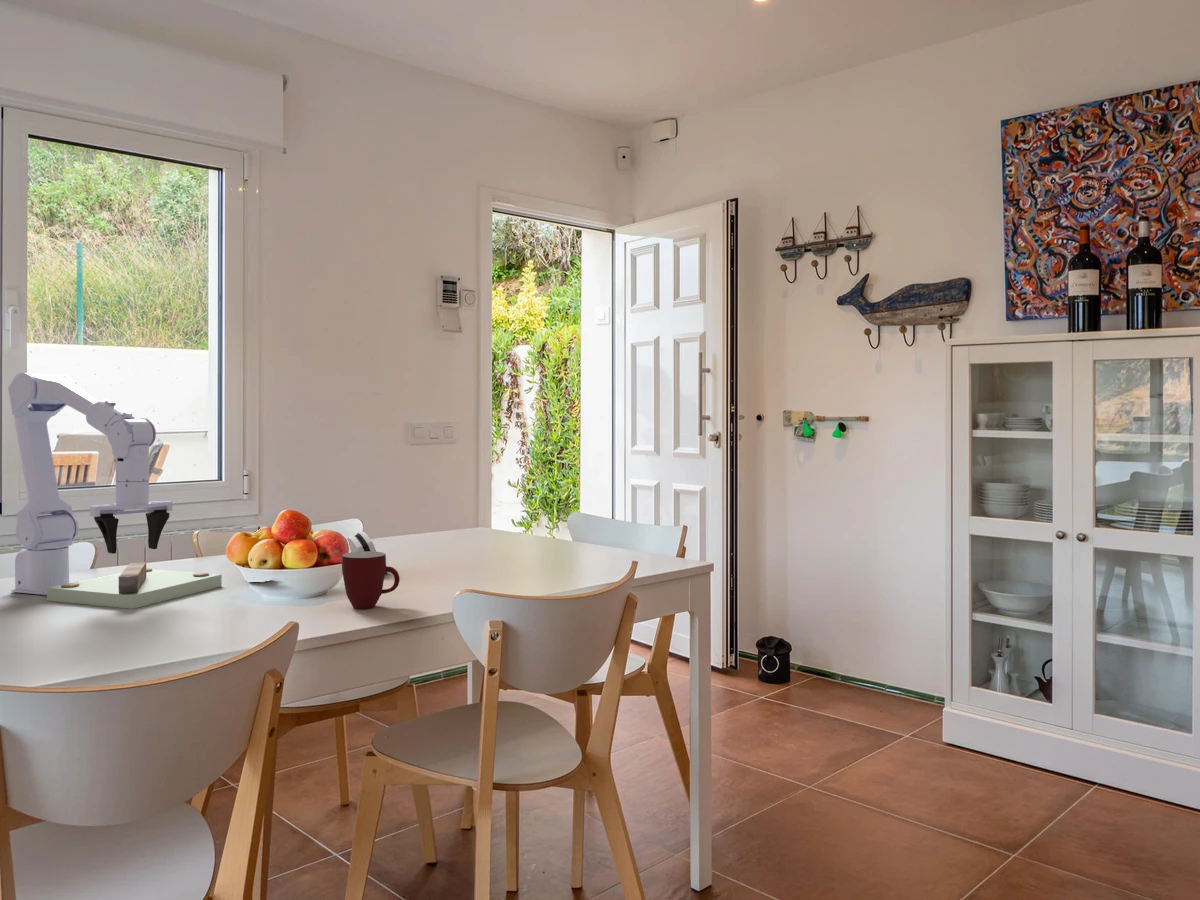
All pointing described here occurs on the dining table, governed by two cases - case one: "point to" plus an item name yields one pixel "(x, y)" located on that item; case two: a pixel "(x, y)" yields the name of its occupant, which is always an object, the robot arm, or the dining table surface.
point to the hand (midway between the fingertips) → (132, 550)
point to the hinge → (361, 543)
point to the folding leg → (132, 578)
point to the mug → (366, 577)
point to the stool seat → (151, 591)
